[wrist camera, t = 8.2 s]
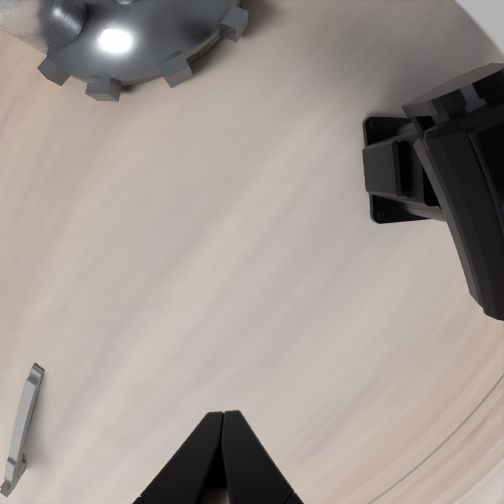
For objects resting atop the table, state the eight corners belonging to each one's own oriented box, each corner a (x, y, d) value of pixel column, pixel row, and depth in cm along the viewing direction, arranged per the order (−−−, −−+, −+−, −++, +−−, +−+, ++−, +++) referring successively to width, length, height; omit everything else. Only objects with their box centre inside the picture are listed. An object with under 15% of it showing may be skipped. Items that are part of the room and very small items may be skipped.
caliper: (26, 468, 24) (8, 501, 18) (19, 463, 24) (0, 495, 17) (45, 368, 20) (7, 412, 14) (35, 361, 20) (-4, 402, 14)
